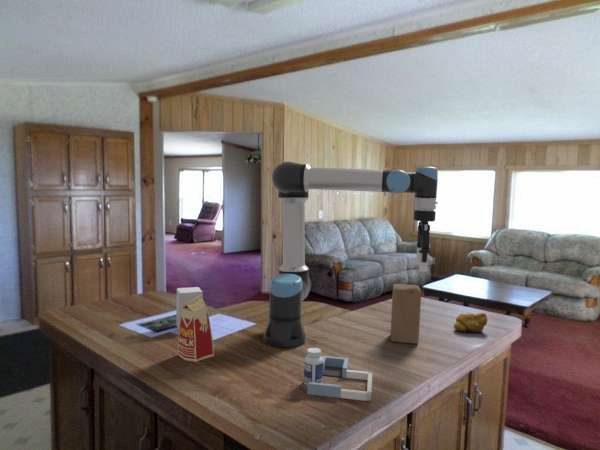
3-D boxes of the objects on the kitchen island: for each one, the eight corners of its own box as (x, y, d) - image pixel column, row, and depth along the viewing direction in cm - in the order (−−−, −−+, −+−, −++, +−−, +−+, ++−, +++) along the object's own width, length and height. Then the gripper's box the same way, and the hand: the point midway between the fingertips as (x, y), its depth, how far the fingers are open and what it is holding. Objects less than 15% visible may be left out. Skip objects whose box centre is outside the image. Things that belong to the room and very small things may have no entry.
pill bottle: (321, 379, 132) (322, 346, 131) (323, 387, 126) (324, 353, 125) (303, 379, 131) (304, 346, 131) (304, 387, 126) (305, 353, 125)
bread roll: (458, 334, 176) (460, 314, 176) (447, 327, 186) (448, 308, 185) (489, 334, 178) (490, 314, 178) (476, 326, 188) (477, 307, 187)
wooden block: (418, 345, 163) (421, 290, 162) (390, 342, 165) (392, 288, 164) (417, 336, 173) (419, 284, 171) (390, 333, 175) (392, 283, 173)
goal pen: (340, 397, 120) (340, 390, 120) (344, 376, 134) (345, 369, 134) (370, 401, 119) (371, 393, 119) (372, 378, 133) (372, 372, 133)
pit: (322, 375, 134) (322, 374, 134) (325, 366, 141) (325, 365, 141) (342, 377, 133) (342, 376, 133) (344, 368, 140) (344, 367, 140)
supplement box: (202, 330, 173) (203, 291, 172) (178, 332, 170) (179, 293, 169) (198, 323, 182) (199, 286, 180) (176, 325, 178) (176, 287, 177)
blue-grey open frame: (307, 394, 122) (307, 383, 122) (318, 364, 142) (318, 355, 142) (342, 398, 120) (342, 387, 120) (348, 367, 141) (348, 358, 141)
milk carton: (197, 348, 153) (197, 290, 151) (215, 355, 147) (215, 295, 146) (174, 356, 146) (174, 295, 144) (192, 363, 140) (192, 300, 139)
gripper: (440, 212, 150) (436, 275, 152) (431, 208, 175) (428, 263, 177) (417, 211, 152) (413, 273, 153) (411, 208, 176) (408, 261, 178)
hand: (421, 268), depth 165 cm, fingers open, 13 cm apart
